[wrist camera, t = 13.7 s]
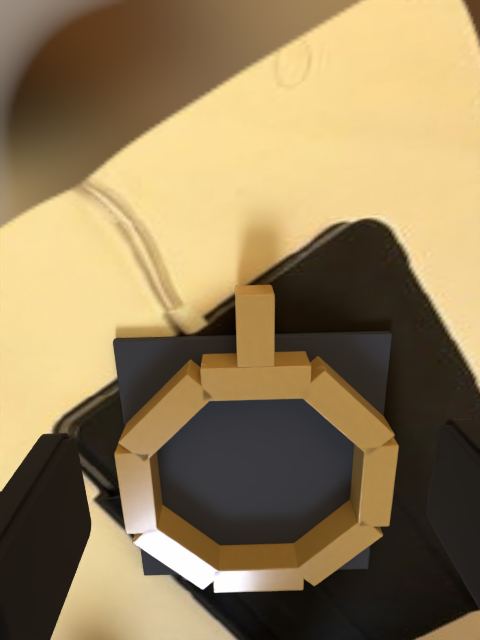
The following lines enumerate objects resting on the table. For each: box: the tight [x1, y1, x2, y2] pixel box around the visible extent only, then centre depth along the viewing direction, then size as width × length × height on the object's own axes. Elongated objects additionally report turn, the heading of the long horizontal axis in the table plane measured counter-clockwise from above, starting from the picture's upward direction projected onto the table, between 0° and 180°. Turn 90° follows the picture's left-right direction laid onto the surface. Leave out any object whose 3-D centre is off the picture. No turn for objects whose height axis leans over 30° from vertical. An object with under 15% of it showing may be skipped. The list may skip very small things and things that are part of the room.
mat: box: [113, 331, 392, 575], centre depth 27 cm, size 18×16×1 cm
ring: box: [115, 285, 399, 593], centre depth 25 cm, size 20×16×2 cm
